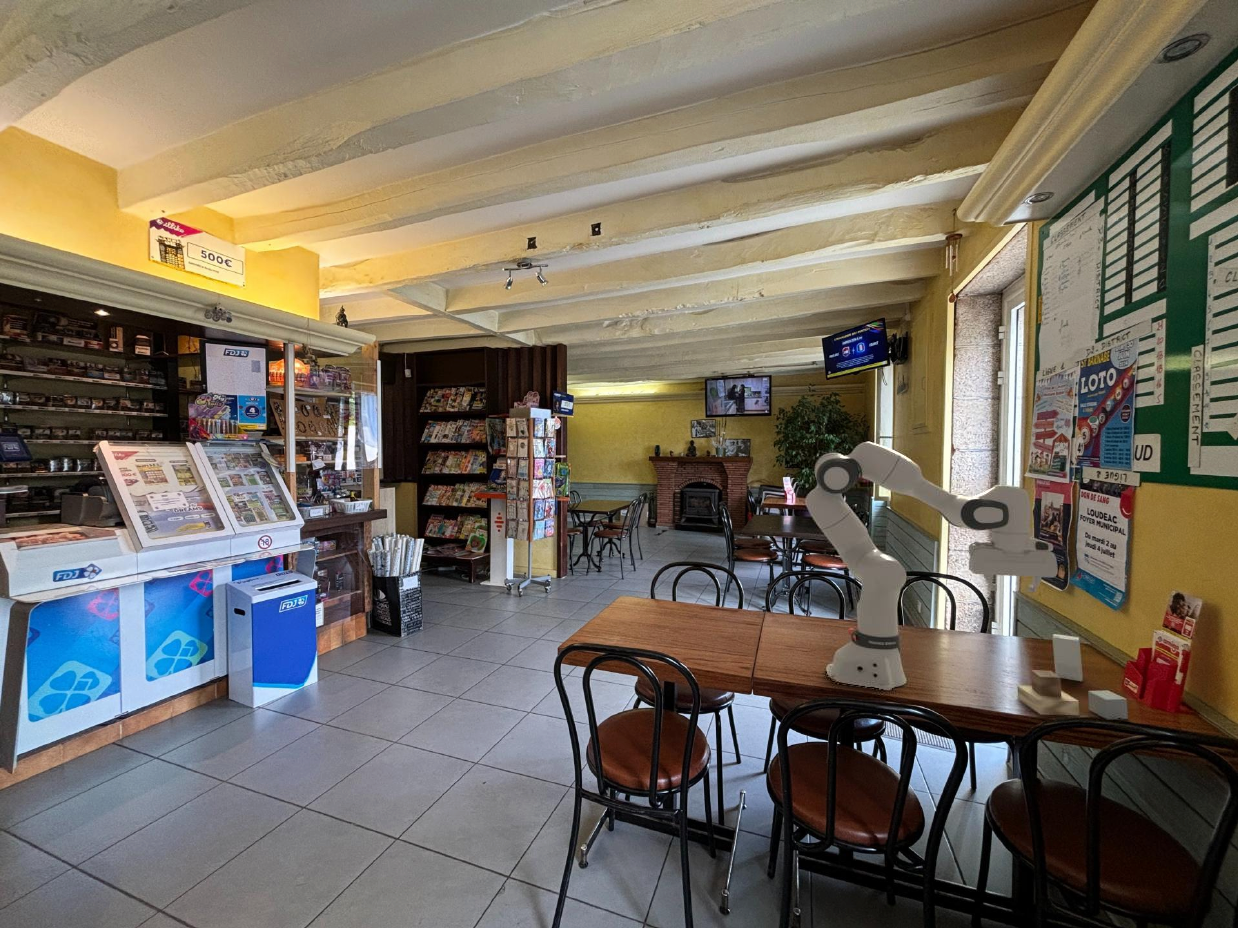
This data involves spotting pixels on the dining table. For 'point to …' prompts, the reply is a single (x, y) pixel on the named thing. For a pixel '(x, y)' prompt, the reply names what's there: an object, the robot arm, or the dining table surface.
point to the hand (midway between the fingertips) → (1012, 591)
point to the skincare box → (1067, 657)
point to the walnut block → (1046, 683)
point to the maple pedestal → (1048, 702)
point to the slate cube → (1108, 704)
